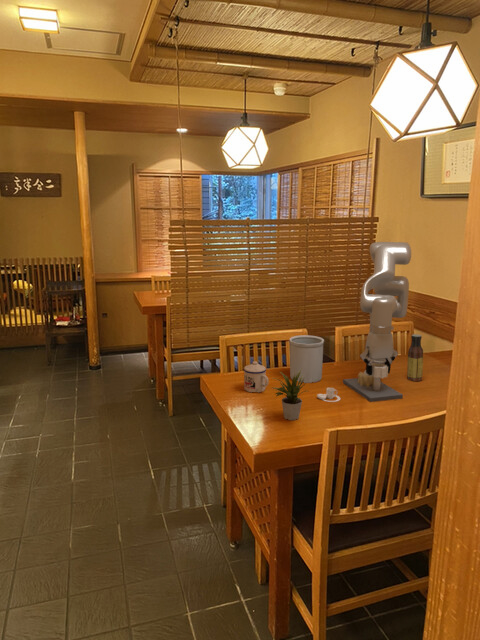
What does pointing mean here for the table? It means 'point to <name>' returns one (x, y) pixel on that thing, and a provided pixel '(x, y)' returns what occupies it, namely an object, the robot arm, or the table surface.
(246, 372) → the teacup with lid
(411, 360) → the sauce bottle
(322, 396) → the teacup and saucer
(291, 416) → the house plant
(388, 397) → the gear board
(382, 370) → the gear
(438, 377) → the table surface
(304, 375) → the utensil holder
